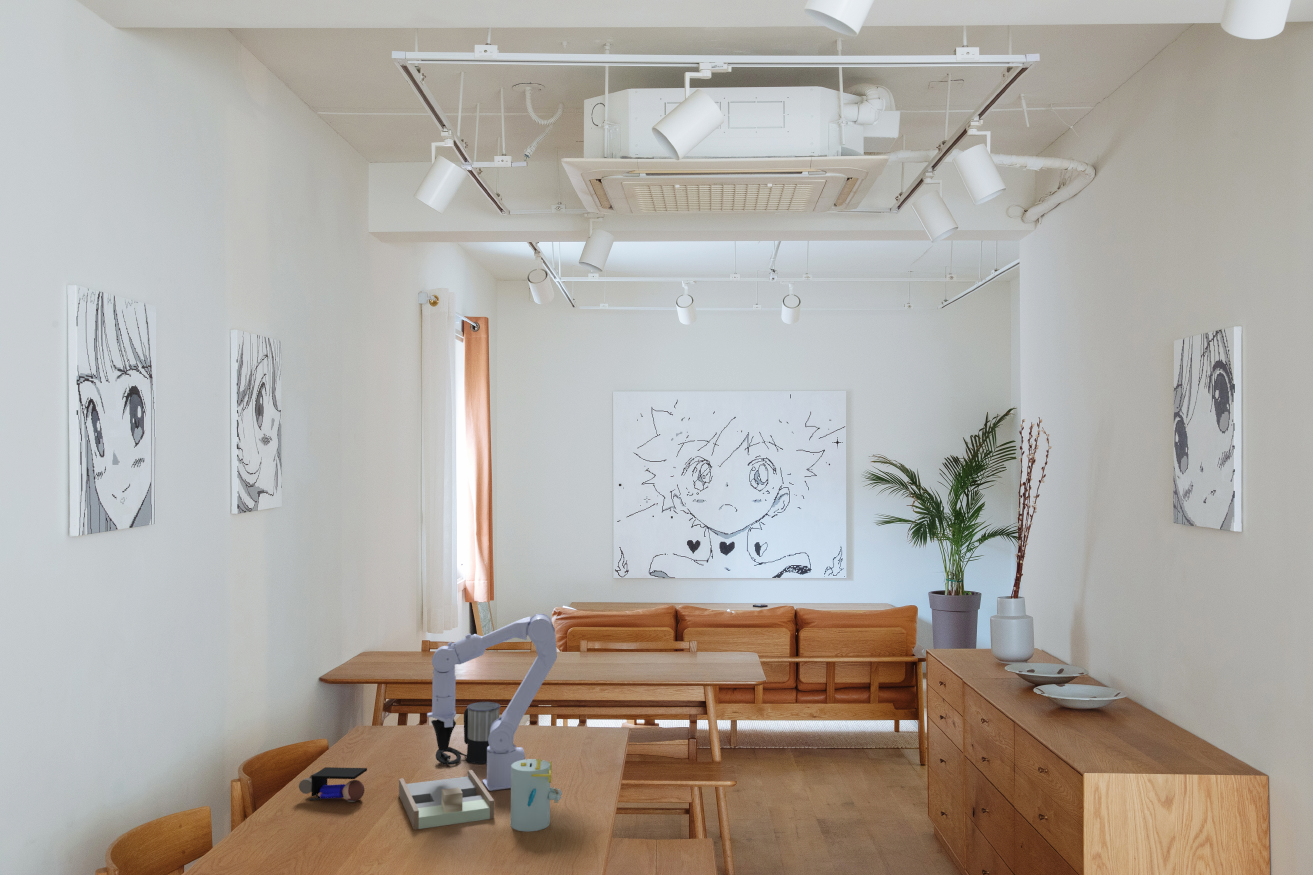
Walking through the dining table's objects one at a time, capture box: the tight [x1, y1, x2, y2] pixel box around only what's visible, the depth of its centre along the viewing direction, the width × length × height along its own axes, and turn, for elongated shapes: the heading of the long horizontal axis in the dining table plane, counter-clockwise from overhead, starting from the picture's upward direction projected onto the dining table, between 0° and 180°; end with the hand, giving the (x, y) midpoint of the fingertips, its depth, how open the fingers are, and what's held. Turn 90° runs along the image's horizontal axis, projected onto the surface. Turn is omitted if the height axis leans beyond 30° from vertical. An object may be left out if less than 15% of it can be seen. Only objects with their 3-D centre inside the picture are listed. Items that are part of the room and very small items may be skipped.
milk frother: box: [435, 701, 501, 766], centre depth 255 cm, size 14×16×15 cm
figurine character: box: [298, 766, 368, 803], centre depth 224 cm, size 7×8×15 cm
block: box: [441, 787, 463, 813], centre depth 211 cm, size 4×4×4 cm
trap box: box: [398, 769, 495, 831], centre depth 219 cm, size 18×24×4 cm
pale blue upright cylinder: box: [510, 758, 563, 832], centre depth 209 cm, size 20×12×13 cm, turn 6°
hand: (443, 749), depth 233 cm, fingers closed
